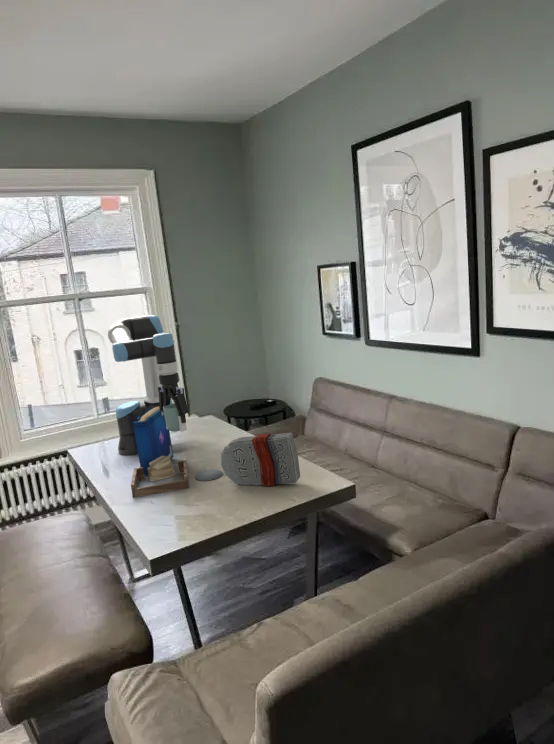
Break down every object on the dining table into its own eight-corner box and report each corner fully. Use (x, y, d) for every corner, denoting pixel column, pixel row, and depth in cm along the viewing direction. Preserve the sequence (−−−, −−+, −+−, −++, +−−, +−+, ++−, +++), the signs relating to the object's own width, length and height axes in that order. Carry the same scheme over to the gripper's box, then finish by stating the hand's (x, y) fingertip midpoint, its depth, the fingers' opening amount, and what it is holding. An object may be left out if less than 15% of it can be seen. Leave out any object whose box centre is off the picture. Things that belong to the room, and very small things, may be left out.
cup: (187, 431, 216) (183, 406, 215) (166, 434, 215) (163, 409, 213) (185, 426, 224) (182, 402, 222) (166, 429, 222) (162, 405, 220)
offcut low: (149, 479, 230) (148, 473, 230) (172, 473, 234) (171, 467, 234) (151, 483, 226) (150, 476, 226) (175, 476, 230) (174, 470, 230)
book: (155, 477, 231) (145, 419, 226) (139, 477, 233) (129, 420, 228) (174, 458, 252) (166, 405, 247) (159, 458, 253) (151, 406, 249)
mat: (194, 473, 230) (194, 471, 230) (221, 468, 232) (221, 467, 232) (195, 482, 220) (195, 481, 220) (223, 478, 222) (223, 476, 221)
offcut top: (150, 469, 226) (149, 463, 226) (162, 461, 234) (161, 455, 233) (158, 469, 225) (157, 463, 224) (170, 462, 232) (169, 456, 231)
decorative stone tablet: (294, 430, 206) (221, 437, 217) (288, 435, 200) (214, 442, 211) (303, 479, 209) (231, 483, 220) (298, 486, 203) (225, 490, 214)
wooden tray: (135, 479, 230) (134, 468, 229) (187, 471, 234) (186, 459, 233) (132, 497, 212) (130, 485, 211) (189, 487, 215) (187, 475, 214)
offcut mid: (148, 474, 228) (147, 468, 228) (167, 467, 234) (166, 461, 234) (153, 476, 225) (152, 470, 225) (173, 469, 231) (172, 463, 231)
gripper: (144, 373, 219) (153, 429, 224) (177, 376, 205) (185, 435, 210) (160, 370, 225) (168, 424, 229) (192, 372, 211) (201, 429, 215)
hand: (176, 429), depth 219 cm, fingers closed on cup, 8 cm apart
